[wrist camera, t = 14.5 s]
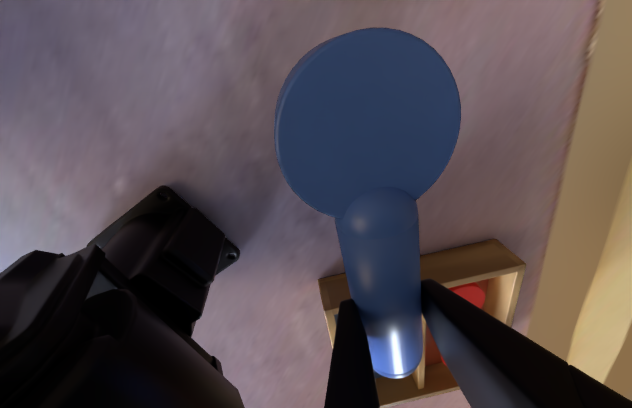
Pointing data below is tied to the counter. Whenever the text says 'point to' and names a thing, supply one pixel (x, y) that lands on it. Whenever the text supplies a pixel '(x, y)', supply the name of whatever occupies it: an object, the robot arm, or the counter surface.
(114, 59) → the counter surface
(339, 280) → the cutlery tray
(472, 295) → the red spoon
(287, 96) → the blue spoon
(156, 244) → the robot arm
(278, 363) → the counter surface
